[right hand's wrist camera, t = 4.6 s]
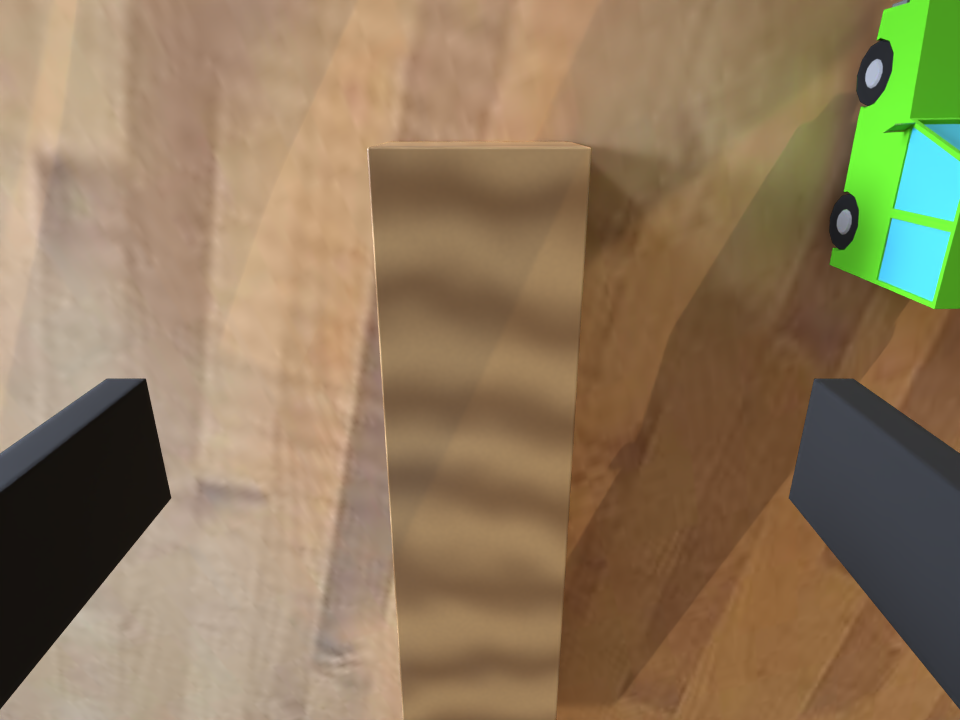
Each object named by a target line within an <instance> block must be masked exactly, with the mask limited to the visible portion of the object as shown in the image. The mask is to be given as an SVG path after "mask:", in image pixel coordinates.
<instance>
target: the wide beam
mask: <svg viewBox="0 0 960 720" xmlns="http://www.w3.org/2000/svg"><path fill="white" fill-rule="evenodd" d="M591 150H592V149H591V148H590V147H587V146H583V145H580V144H576V143H572V142H386V143H383V144H379V145H376V146H372V147H369V148H368V149H367V153H368V168H369V184H370V200H371V216H372V232H373V248H374V264H375V280H376V296H377V312H378V328H379V344H380V360H381V376H382V392H383V407H384V423H385V439H386V455H387V471H388V487H389V503H390V519H391V535H392V551H393V567H394V583H395V599H396V615H397V630H398V646H399V662H400V678H401V694H402V710H403V720H556V714H557V697H558V681H559V665H560V649H561V633H562V617H563V601H564V585H565V569H566V553H567V536H568V520H569V504H570V488H571V472H572V456H573V440H574V424H575V408H576V392H577V375H578V359H579V343H580V327H581V311H582V295H583V279H584V263H585V247H586V231H587V214H588V198H589V182H590V166H591Z"/></svg>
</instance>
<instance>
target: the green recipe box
mask: <svg viewBox="0 0 960 720" xmlns="http://www.w3.org/2000/svg"><path fill="white" fill-rule="evenodd" d="M877 40H881V41H879V42H878V43H876V44H874V45H873V46H871V47H870V49H869V50H868V52H867V53H866V55H865V56H864V58H863V59H862V63H861V66H860V69H859V72H858V75H857V90H856V91H857V94H858V97H859V100H860V102H861V103H863V104H865V105H867V106H868V107H861V109H860V113H859V117H858V122H857V127H856V132H855V137H854V142H853V148H852V153H851V158H850V163H849V168H848V173H847V178H846V183H845V188H844V192H849V193H850V194H848V195H844V196H841V198H840V199H839V200H838V201H837V202H836V204H835V205H834V208H833V211H832V214H831V217H830V229H829V232H830V236H831V239H832V243H833V244H834V245H835V246H836V247H837V248H833V249H832V255H831V260H830V265H832V266H834V267H836V268H839V269H841V270H844V271H846V272H848V273H851V274H853V275H855V276H858V277H860V278H862V279H865V280H867V281H870V282H872V283H874V284H877V285H879V286H881V287H884V288H886V289H889V290H891V291H893V292H896V293H898V294H900V295H903V296H905V297H907V298H910V299H912V300H915V301H917V302H919V303H922V304H924V305H926V306H929V307H931V308H933V309H960V0H904V1H901V2H898V3H896V4H893V6H892V8H889V9H885V10H884V11H883V16H882V20H881V24H880V28H879V32H878V37H877Z"/></svg>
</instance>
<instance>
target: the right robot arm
mask: <svg viewBox="0 0 960 720" xmlns="http://www.w3.org/2000/svg"><path fill="white" fill-rule="evenodd" d="M170 499H171V495H170V490H169V485H168V481H167V476H166V471H165V466H164V462H163V457H162V452H161V448H160V443H159V438H158V434H157V429H156V424H155V420H154V415H153V410H152V406H151V401H150V396H149V391H148V387H147V382H146V379H106V380H104V381H103V382H101V383H100V384H99V385H97V386H96V387H94V388H93V389H91V390H90V391H89V392H87V393H86V394H84V395H83V396H81V397H80V398H79V399H77V400H76V401H74V402H73V403H71V404H70V405H69V406H67V407H66V408H64V409H63V410H62V411H60V412H59V413H57V414H56V415H54V416H53V417H52V418H50V419H49V420H47V421H46V422H44V423H43V424H42V425H40V426H39V427H37V428H36V429H34V430H33V431H32V432H30V433H29V434H27V435H26V436H24V437H23V438H22V439H20V440H19V441H17V442H16V443H14V444H13V445H12V446H10V447H9V448H7V449H6V450H5V451H3V452H2V453H0V709H1V708H2V706H3V705H4V704H5V703H6V702H7V700H8V699H9V698H10V697H11V695H12V694H13V693H14V692H15V690H16V689H17V688H18V687H19V685H20V684H21V683H22V682H23V681H24V679H25V678H26V677H27V676H28V674H29V673H30V672H31V671H32V669H33V668H34V667H35V666H36V664H37V663H38V662H39V661H40V660H41V658H42V657H43V656H44V655H45V653H46V652H47V651H48V650H49V648H50V647H51V646H52V645H53V643H54V642H55V641H56V640H57V639H58V637H59V636H60V635H61V634H62V632H63V631H64V630H65V629H66V627H67V626H68V625H69V624H70V622H71V621H72V620H73V619H74V618H75V616H76V615H77V614H78V613H79V611H80V610H81V609H82V608H83V606H84V605H85V604H86V603H87V601H88V600H89V599H90V598H91V597H92V595H93V594H94V593H95V592H96V590H97V589H98V588H99V587H100V585H101V584H102V583H103V582H104V581H105V579H106V578H107V577H108V576H109V574H110V573H111V572H112V571H113V569H114V568H115V567H116V566H117V564H118V563H119V562H120V561H121V560H122V558H123V557H124V556H125V555H126V553H127V552H128V551H129V550H130V548H131V547H132V546H133V545H134V543H135V542H136V541H137V540H138V539H139V537H140V536H141V535H142V534H143V532H144V531H145V530H146V529H147V527H148V526H149V525H150V524H151V522H152V521H153V520H154V519H155V518H156V516H157V515H158V514H159V513H160V511H161V510H162V509H163V508H164V506H165V505H166V504H167V503H168V501H169V500H170ZM789 499H790V500H791V501H792V503H793V504H794V505H795V506H796V508H797V509H798V510H799V511H800V513H801V514H802V515H803V516H804V518H805V519H806V520H807V521H808V522H809V524H810V525H811V526H812V527H813V529H814V530H815V531H816V532H817V534H818V535H819V536H820V537H821V539H822V540H823V541H824V542H825V543H826V545H827V546H828V547H829V548H830V550H831V551H832V552H833V553H834V555H835V556H836V557H837V558H838V560H839V561H840V562H841V563H842V564H843V566H844V567H845V568H846V569H847V571H848V572H849V573H850V574H851V576H852V577H853V578H854V579H855V581H856V582H857V583H858V584H859V585H860V587H861V588H862V589H863V590H864V592H865V593H866V594H867V595H868V597H869V598H870V599H871V600H872V602H873V603H874V604H875V605H876V606H877V608H878V609H879V610H880V611H881V613H882V614H883V615H884V616H885V618H886V619H887V620H888V621H889V622H890V624H891V625H892V626H893V627H894V629H895V630H896V631H897V632H898V634H899V635H900V636H901V637H902V639H903V640H904V641H905V642H906V643H907V645H908V646H909V647H910V648H911V650H912V651H913V652H914V653H915V655H916V656H917V657H918V658H919V660H920V661H921V662H922V663H923V664H924V666H925V667H926V668H927V669H928V671H929V672H930V673H931V674H932V676H933V677H934V678H935V679H936V681H937V682H938V683H939V684H940V685H941V687H942V688H943V689H944V690H945V692H946V693H947V694H948V695H949V697H950V698H951V699H952V700H953V702H954V703H955V704H956V705H957V706H958V708H959V709H960V453H958V452H957V451H955V450H954V449H953V448H951V447H950V446H948V445H947V444H946V443H944V442H943V441H941V440H940V439H938V438H937V437H936V436H934V435H933V434H931V433H930V432H928V431H927V430H926V429H924V428H923V427H921V426H920V425H918V424H917V423H916V422H914V421H913V420H911V419H910V418H908V417H907V416H906V415H904V414H903V413H901V412H900V411H898V410H897V409H896V408H894V407H893V406H891V405H890V404H889V403H887V402H886V401H884V400H883V399H881V398H880V397H879V396H877V395H876V394H874V393H873V392H871V391H870V390H869V389H867V388H866V387H864V386H863V385H861V384H860V383H859V382H857V381H856V380H854V379H814V382H813V387H812V391H811V396H810V401H809V406H808V410H807V415H806V420H805V424H804V429H803V434H802V438H801V443H800V448H799V452H798V457H797V462H796V466H795V471H794V476H793V481H792V485H791V490H790V495H789Z"/></svg>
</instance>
